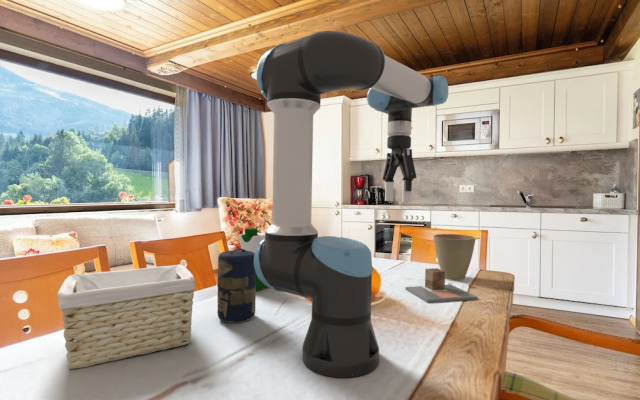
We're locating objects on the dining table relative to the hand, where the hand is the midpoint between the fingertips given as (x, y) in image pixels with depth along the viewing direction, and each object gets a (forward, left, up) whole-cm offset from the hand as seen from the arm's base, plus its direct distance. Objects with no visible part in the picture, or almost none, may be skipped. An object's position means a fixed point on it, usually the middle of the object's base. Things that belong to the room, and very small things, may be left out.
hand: (397, 201), depth 115 cm
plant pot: (+29, +12, -30) cm, 43 cm away
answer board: (+13, -6, -29) cm, 33 cm away
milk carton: (-45, +13, -30) cm, 55 cm away
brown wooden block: (+13, -2, -29) cm, 31 cm away
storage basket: (-73, -25, -30) cm, 82 cm away
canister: (-51, -14, -30) cm, 61 cm away
